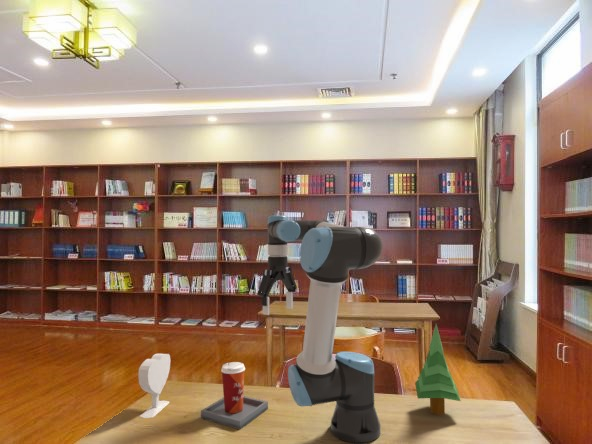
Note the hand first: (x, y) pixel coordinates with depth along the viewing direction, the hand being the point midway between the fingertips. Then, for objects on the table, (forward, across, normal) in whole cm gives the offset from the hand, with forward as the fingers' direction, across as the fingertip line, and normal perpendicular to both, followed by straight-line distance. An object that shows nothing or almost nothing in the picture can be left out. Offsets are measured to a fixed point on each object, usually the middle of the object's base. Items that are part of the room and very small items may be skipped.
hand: (278, 311), depth 154 cm
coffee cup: (+30, +22, -1) cm, 37 cm away
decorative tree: (+31, -21, +53) cm, 65 cm away
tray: (+31, +22, 0) cm, 38 cm away
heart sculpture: (+31, +37, -25) cm, 54 cm away
